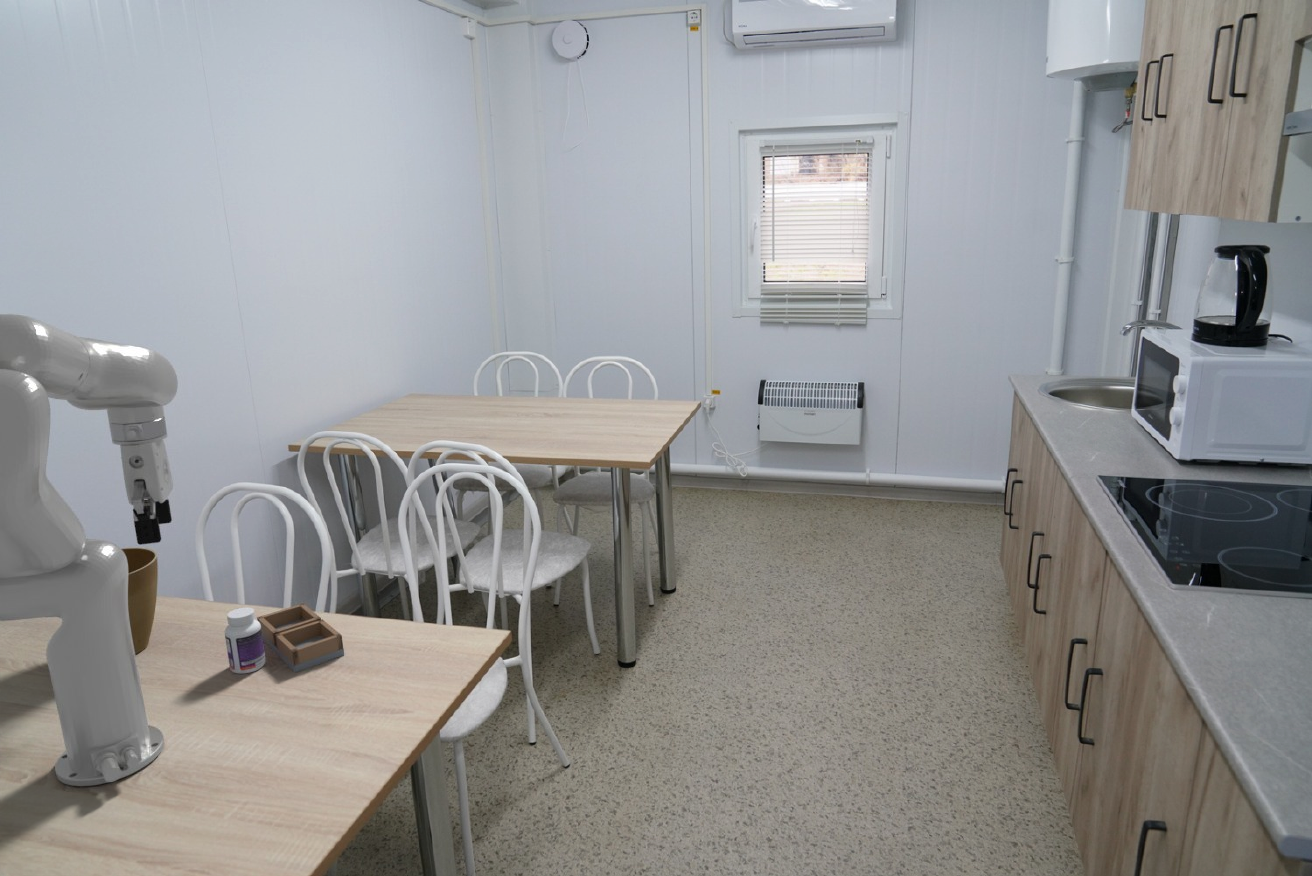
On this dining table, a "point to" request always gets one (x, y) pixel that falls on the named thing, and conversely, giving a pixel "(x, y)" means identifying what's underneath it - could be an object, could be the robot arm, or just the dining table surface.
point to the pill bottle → (244, 641)
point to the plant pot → (141, 593)
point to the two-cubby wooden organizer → (300, 637)
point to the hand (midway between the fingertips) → (155, 532)
